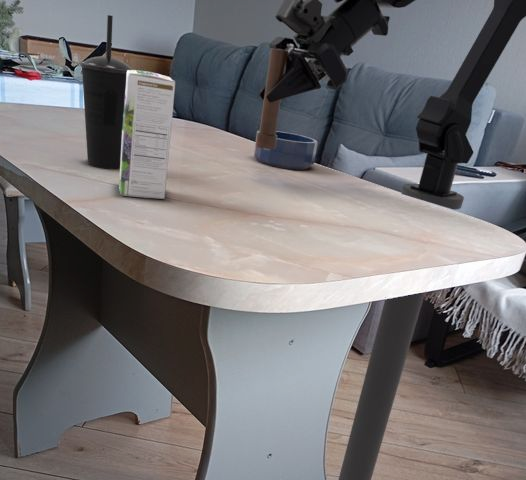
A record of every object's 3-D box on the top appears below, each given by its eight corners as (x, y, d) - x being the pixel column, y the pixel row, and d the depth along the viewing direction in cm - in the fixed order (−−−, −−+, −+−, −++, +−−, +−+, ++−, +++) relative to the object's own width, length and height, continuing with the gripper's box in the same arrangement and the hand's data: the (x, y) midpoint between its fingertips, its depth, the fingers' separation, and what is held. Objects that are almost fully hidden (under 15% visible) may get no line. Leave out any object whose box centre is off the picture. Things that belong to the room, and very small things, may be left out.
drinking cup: (140, 167, 95) (149, 22, 86) (109, 173, 88) (115, 16, 79) (100, 157, 97) (104, 14, 88) (67, 161, 91) (68, 8, 82)
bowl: (279, 156, 125) (283, 130, 123) (324, 169, 119) (329, 142, 117) (241, 157, 117) (244, 130, 115) (287, 171, 111) (292, 143, 108)
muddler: (264, 144, 99) (278, 49, 93) (279, 149, 97) (294, 52, 91) (251, 145, 97) (264, 47, 91) (266, 149, 95) (281, 50, 89)
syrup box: (118, 185, 83) (123, 67, 76) (162, 189, 84) (171, 74, 78) (119, 196, 78) (125, 71, 71) (166, 200, 79) (176, 79, 73)
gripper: (290, -21, 96) (214, 47, 96) (345, -24, 81) (255, 56, 81) (325, 43, 102) (254, 106, 103) (382, 51, 87) (298, 125, 88)
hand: (263, 98), depth 93 cm, fingers closed on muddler, 2 cm apart
